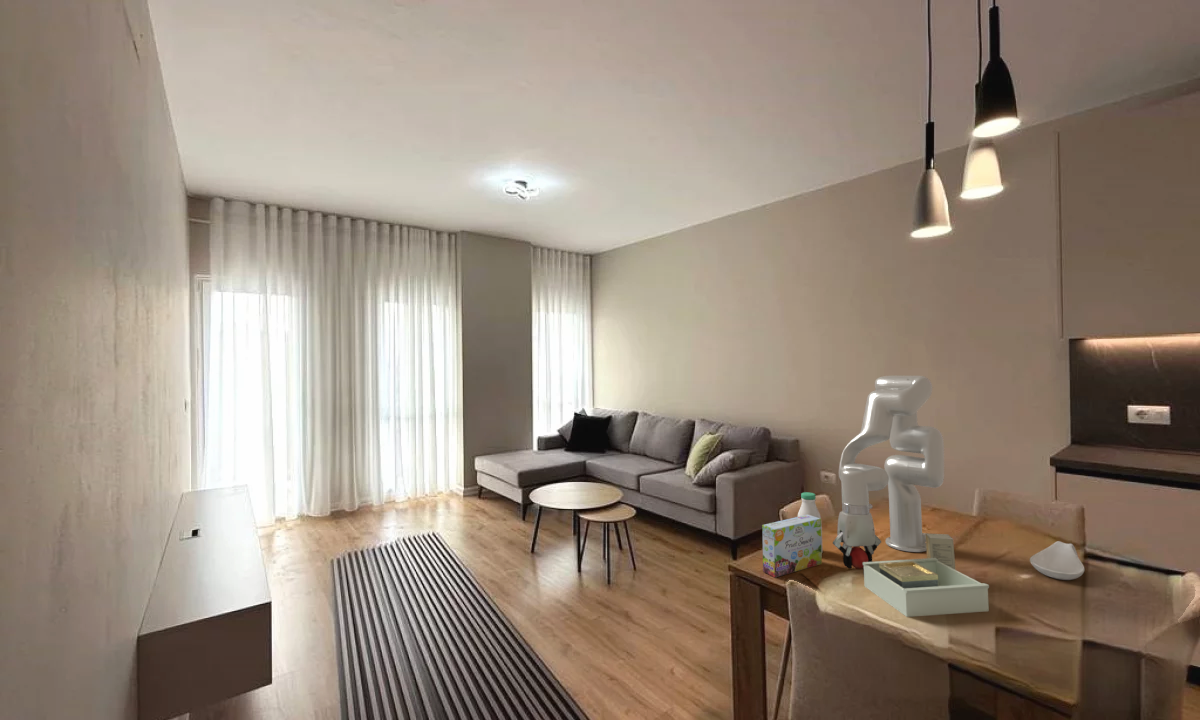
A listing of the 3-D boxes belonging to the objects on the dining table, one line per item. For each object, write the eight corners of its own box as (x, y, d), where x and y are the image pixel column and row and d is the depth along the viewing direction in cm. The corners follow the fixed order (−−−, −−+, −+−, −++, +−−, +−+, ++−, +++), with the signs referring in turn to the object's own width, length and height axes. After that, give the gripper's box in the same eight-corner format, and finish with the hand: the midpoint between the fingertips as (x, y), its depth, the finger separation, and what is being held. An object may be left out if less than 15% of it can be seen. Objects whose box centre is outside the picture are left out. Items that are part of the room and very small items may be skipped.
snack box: (776, 579, 145) (774, 529, 146) (762, 572, 150) (760, 524, 151) (823, 564, 155) (821, 517, 155) (808, 558, 160) (806, 513, 160)
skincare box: (951, 574, 145) (949, 534, 145) (956, 581, 140) (954, 539, 141) (926, 572, 147) (924, 532, 147) (931, 578, 143) (929, 537, 143)
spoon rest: (1081, 589, 134) (1080, 563, 134) (1026, 575, 143) (1025, 551, 143) (1093, 565, 149) (1092, 542, 149) (1042, 554, 158) (1041, 533, 158)
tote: (936, 583, 139) (934, 557, 139) (990, 614, 121) (988, 585, 122) (863, 588, 138) (862, 562, 138) (907, 620, 120) (906, 590, 120)
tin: (914, 590, 134) (913, 560, 134) (939, 605, 125) (938, 574, 125) (880, 592, 133) (879, 562, 133) (903, 608, 124) (901, 576, 124)
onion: (843, 566, 153) (842, 541, 153) (860, 565, 153) (859, 540, 153) (854, 574, 147) (853, 548, 147) (872, 572, 147) (871, 546, 148)
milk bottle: (818, 547, 169) (815, 490, 169) (826, 556, 161) (823, 496, 162) (795, 547, 170) (793, 490, 170) (802, 555, 162) (800, 496, 162)
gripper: (874, 503, 155) (876, 560, 154) (822, 506, 154) (825, 563, 153) (889, 510, 147) (892, 569, 147) (836, 513, 146) (838, 573, 146)
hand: (857, 565), depth 150 cm, fingers closed on onion, 5 cm apart
